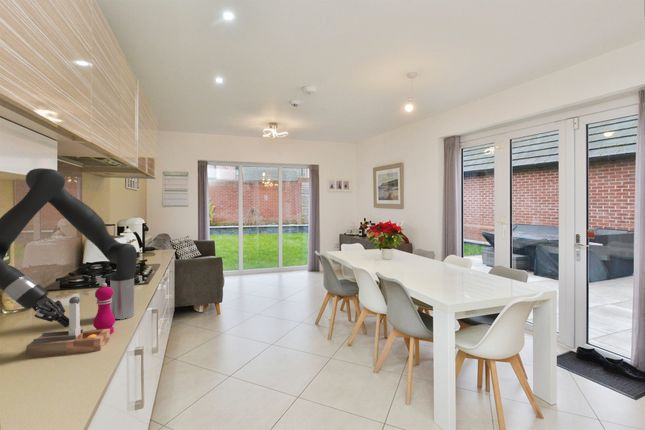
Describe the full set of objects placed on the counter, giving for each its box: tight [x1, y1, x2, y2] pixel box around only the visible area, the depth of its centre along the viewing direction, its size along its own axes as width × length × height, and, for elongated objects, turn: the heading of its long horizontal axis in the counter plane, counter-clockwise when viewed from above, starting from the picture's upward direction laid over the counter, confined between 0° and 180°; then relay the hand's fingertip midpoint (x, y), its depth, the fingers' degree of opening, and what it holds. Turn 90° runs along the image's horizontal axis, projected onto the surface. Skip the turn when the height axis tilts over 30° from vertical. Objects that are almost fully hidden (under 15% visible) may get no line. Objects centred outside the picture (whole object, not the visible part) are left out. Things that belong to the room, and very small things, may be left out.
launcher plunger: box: [68, 296, 82, 337], centre depth 114 cm, size 4×3×14 cm
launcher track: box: [25, 328, 111, 359], centre depth 114 cm, size 10×21×5 cm, turn 107°
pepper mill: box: [92, 282, 116, 335], centre depth 127 cm, size 7×7×20 cm
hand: (69, 324), depth 114 cm, fingers closed
